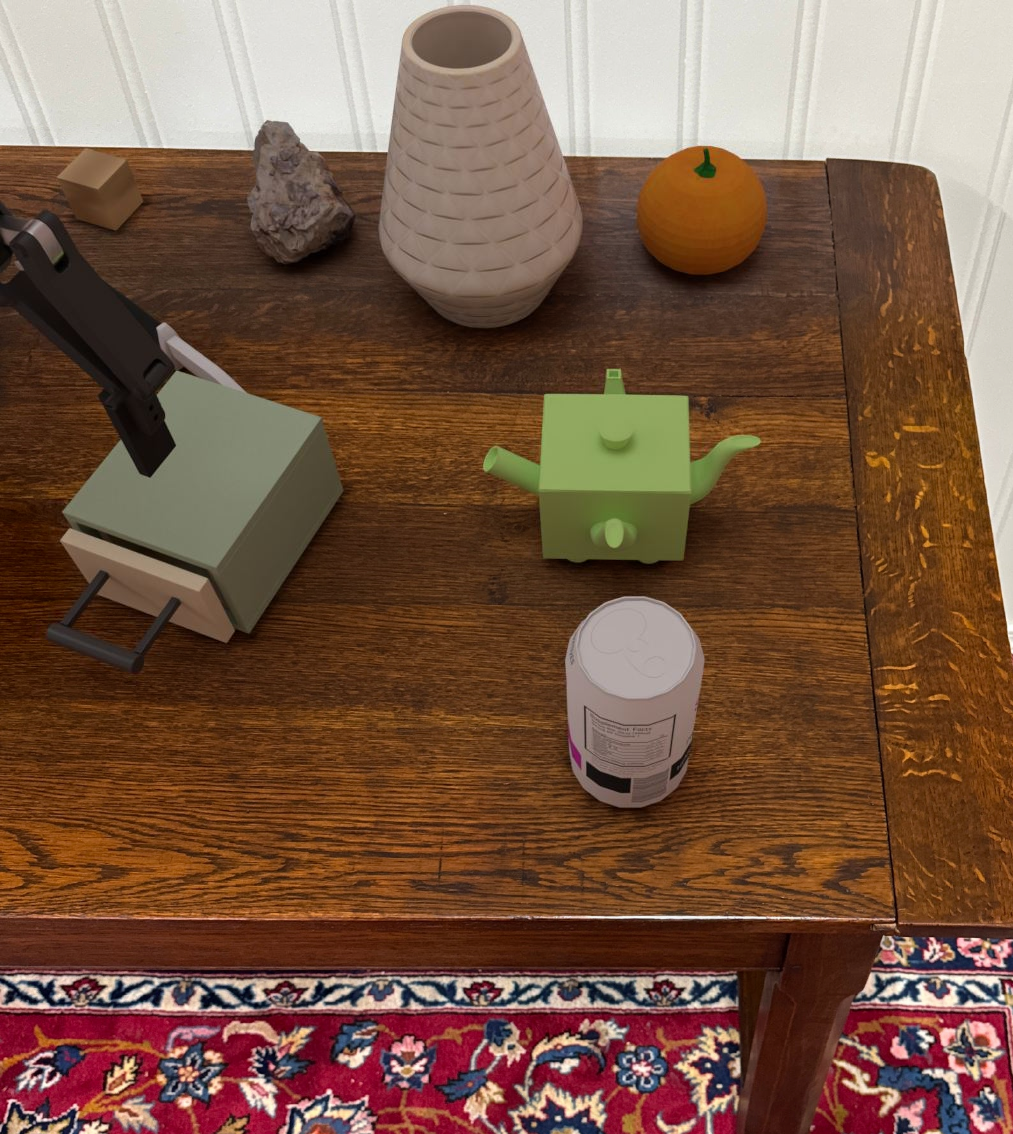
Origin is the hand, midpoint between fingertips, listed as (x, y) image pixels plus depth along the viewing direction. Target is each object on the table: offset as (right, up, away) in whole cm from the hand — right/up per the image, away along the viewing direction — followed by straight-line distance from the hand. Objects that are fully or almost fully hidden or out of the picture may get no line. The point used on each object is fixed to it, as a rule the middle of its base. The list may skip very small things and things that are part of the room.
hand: (64, 426), depth 69 cm
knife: (-2, +9, +29) cm, 30 cm away
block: (-14, +29, +40) cm, 51 cm away
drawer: (+2, -8, +17) cm, 19 cm away
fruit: (+42, +24, +37) cm, 61 cm away
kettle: (+34, -4, +20) cm, 40 cm away
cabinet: (+4, -5, +20) cm, 21 cm away
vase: (+23, +19, +34) cm, 46 cm away
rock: (+5, +25, +38) cm, 45 cm away
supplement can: (+35, -21, +10) cm, 42 cm away
